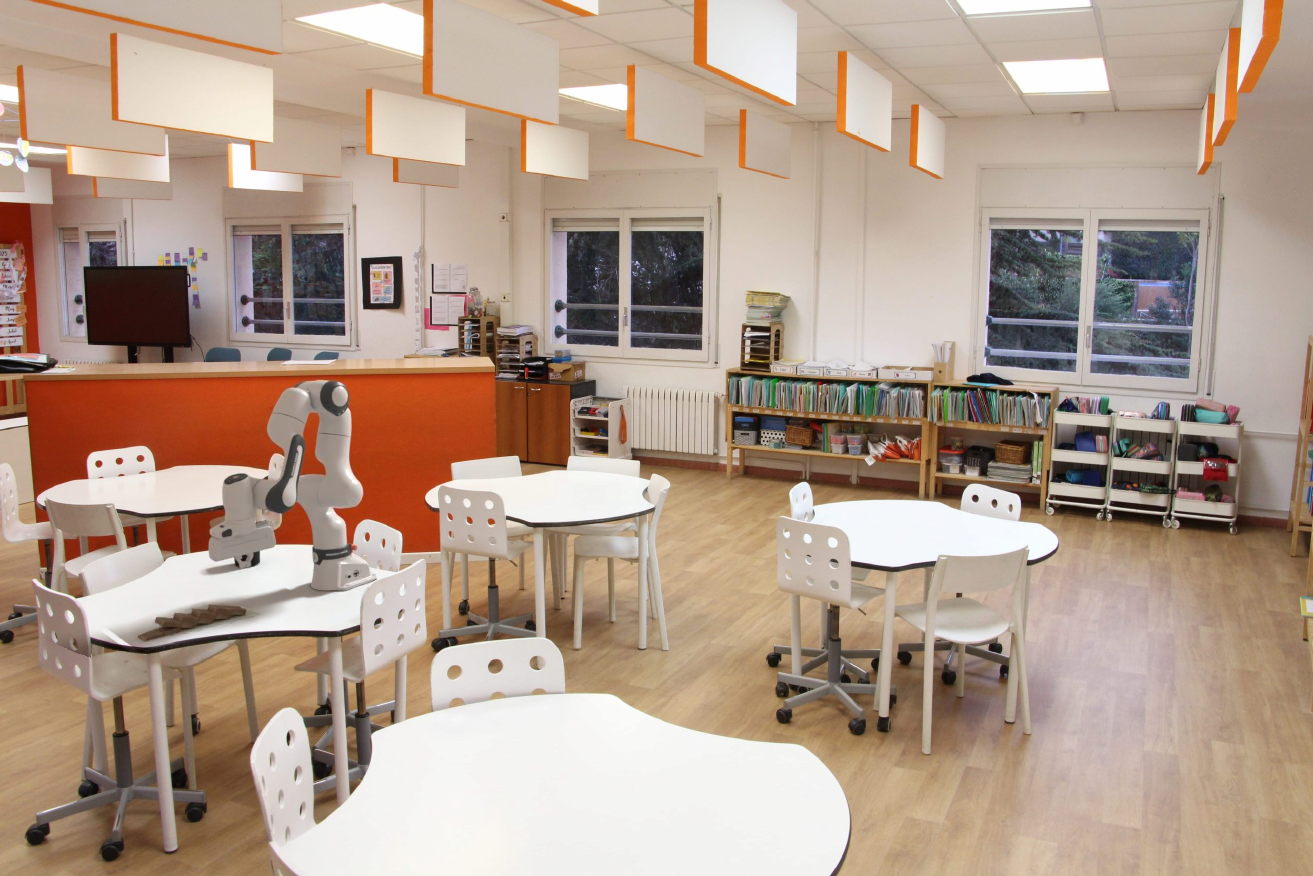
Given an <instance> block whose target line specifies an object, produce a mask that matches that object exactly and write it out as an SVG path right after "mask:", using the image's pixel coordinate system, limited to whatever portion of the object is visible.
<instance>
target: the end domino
mask: <svg viewBox="0 0 1313 876" xmlns="http://www.w3.org/2000/svg"><path fill="white" fill-rule="evenodd" d="M179 632H180V631H179V627H164V626H160V627H157V628H154V629H152V630H148V631H146V632H142V633H141V634H140V633H139V634H137V638H139V639H140V640H142V641H144V642H145V643H146V642H149V641H151V640H152V641H153V640H156V639H159V638H163V637H167V636H168V637H169V636H171V635H175V634H178V633H179Z"/></svg>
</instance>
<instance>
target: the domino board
mask: <svg viewBox="0 0 1313 876" xmlns="http://www.w3.org/2000/svg"><path fill="white" fill-rule="evenodd" d="M243 608H244V609H246V614H245V615H237V614H231V616H230V619H215V618H214V619H213V623H212V624H209V623H196V626H195V628H185V627H179V631H180V632H178V633H179V634H181V635H184V634H188V633H191V632H195V631H198V630H203V629H208V628H211V627H214V626H218V625H222V624H223V625H224V624H225V623H230V622H233V621H237V620H242V619H246V618H249V617H253V616H256V615H260V613H259V612H257V611H255V610H253V608H252V609H251V608H249V607H248V606H245V607H243Z"/></svg>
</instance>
